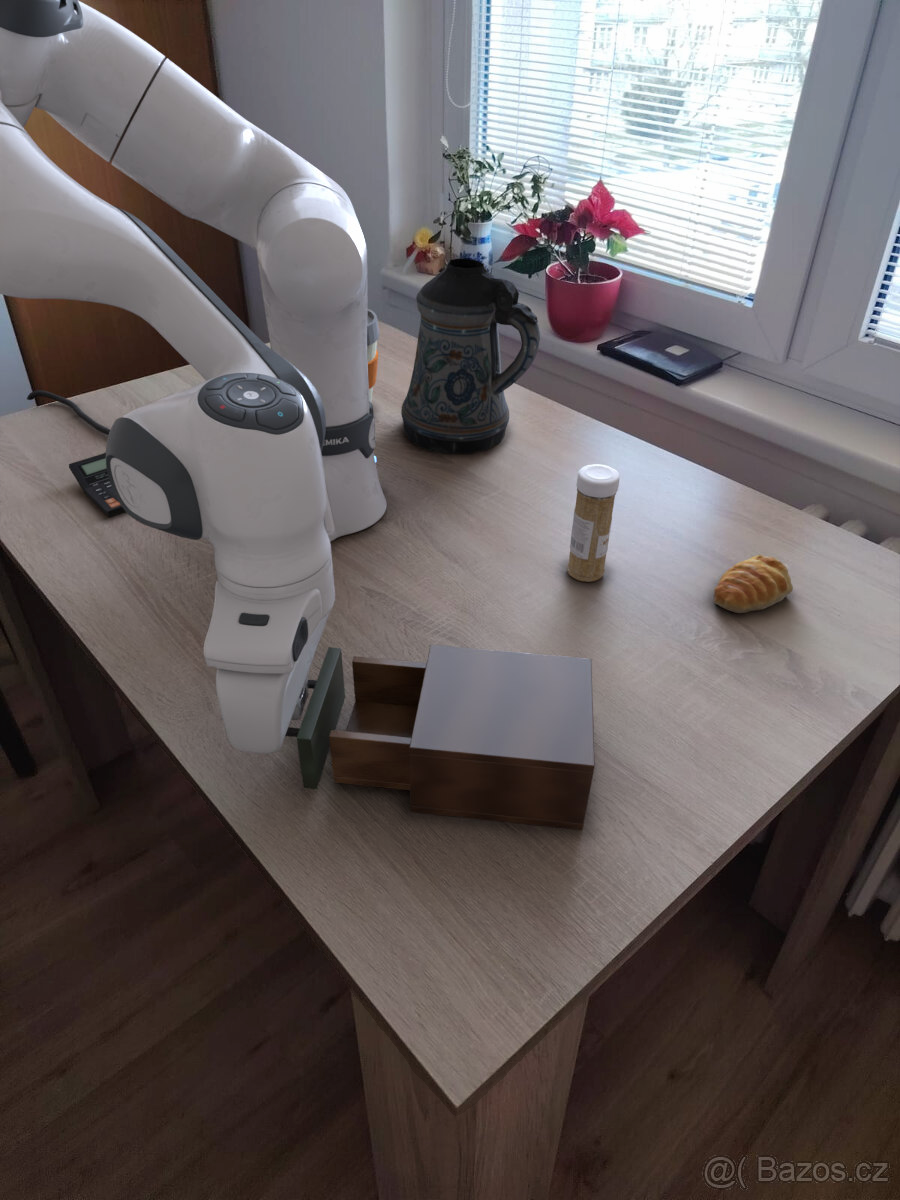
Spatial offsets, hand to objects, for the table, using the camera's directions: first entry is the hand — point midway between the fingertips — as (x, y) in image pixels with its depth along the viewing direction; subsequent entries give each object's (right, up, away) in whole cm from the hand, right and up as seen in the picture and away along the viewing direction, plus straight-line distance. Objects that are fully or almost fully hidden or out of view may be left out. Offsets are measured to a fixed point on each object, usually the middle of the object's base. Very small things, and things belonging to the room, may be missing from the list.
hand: (295, 708), depth 73 cm
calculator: (-30, +25, +39) cm, 55 cm away
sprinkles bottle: (+30, +13, +25) cm, 41 cm away
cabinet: (+18, -5, +1) cm, 19 cm away
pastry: (+49, +10, +22) cm, 54 cm away
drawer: (+6, -3, +2) cm, 7 cm away
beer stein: (+16, +36, +54) cm, 67 cm away
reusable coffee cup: (-3, +40, +59) cm, 71 cm away
